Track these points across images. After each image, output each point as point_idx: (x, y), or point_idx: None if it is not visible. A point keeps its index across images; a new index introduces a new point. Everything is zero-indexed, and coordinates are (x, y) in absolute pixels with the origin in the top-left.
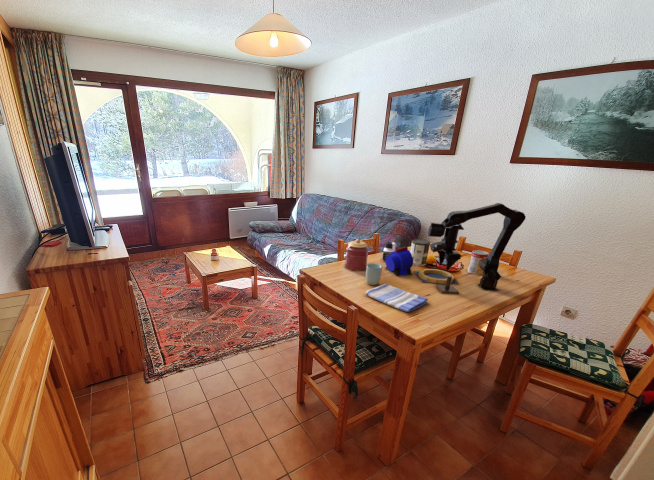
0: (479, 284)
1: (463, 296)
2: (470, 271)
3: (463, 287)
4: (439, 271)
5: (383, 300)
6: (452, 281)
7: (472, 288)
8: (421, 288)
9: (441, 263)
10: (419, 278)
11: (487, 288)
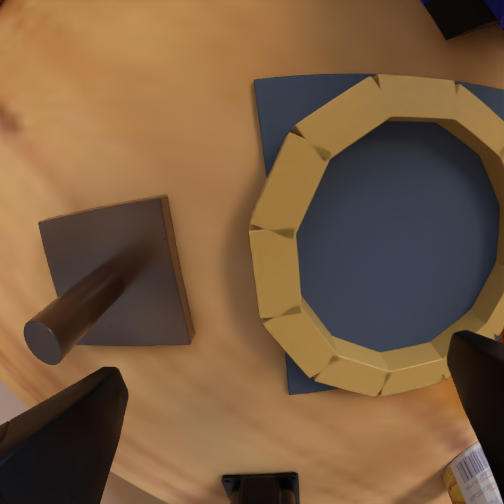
0: (268, 480)
1: None
2: (472, 452)
3: (228, 405)
4: (495, 301)
5: None
6: None
7: (227, 441)
8: (100, 66)
9: (452, 362)
10: (367, 75)
11: (232, 488)
